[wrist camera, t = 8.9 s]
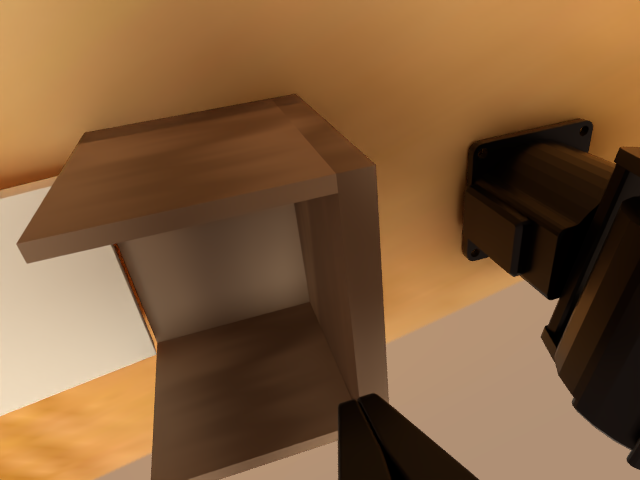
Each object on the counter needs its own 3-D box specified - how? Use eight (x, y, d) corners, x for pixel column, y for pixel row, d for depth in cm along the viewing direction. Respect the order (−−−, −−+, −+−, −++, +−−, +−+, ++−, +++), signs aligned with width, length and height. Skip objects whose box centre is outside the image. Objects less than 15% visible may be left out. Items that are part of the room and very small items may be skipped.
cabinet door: (83, 177, 15) (-177, 244, 13) (156, 354, 19) (-30, 428, 17) (82, 167, 16) (-160, 226, 14) (152, 337, 20) (-25, 404, 18)
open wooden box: (295, 94, 18) (375, 165, 11) (322, 286, 23) (389, 423, 16) (84, 132, 17) (15, 243, 9) (161, 329, 21) (155, 500, 14)
